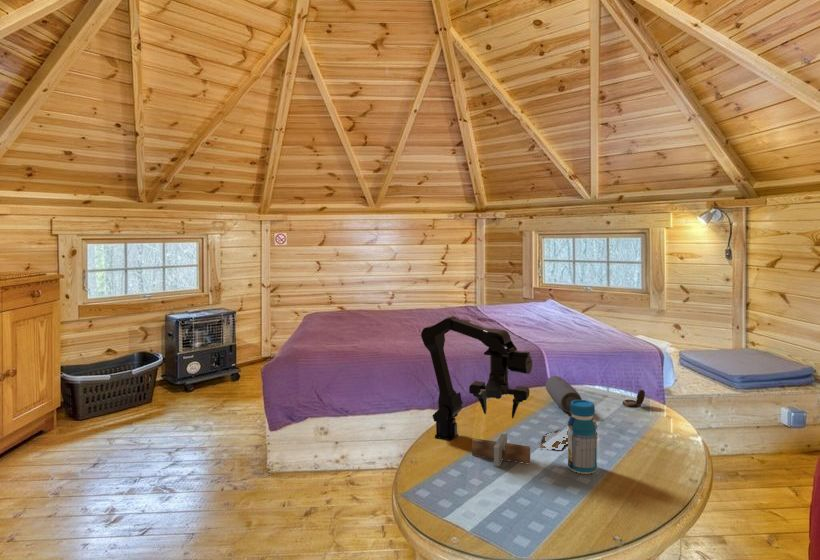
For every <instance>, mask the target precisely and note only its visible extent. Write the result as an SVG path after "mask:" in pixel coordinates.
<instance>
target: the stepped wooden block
mask: <svg viewBox="0 0 820 560" xmlns="http://www.w3.org/2000/svg"><path fill="white" fill-rule="evenodd" d="M471 441H472V442H471V443H472V446H471V447H472V448H471V449H472V453H471V455H472V456H475V457H480V458H488V459H493V458H494V446H495V444H496V442H497V441H495V440H487V439H481V438H472V440H471ZM502 459H503V460H502V461H506V460H510V461H509V462H512V461H517V462H516V463H518V462H523V463H522V464H524V463H530V464H531V446H530V445H522V444H516V443H509V442H507V443H506V444H505V450H503V451H502Z"/></svg>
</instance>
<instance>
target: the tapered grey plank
mask: <svg viewBox="0 0 820 560" xmlns="http://www.w3.org/2000/svg"><path fill="white" fill-rule="evenodd" d="M506 443H508V432H505V431H504V432H501V434H500V436H499V437H498V439H497V441H496V444H495V446H494V459H493V466H494V467H496V466H499V465H500V466H501V464H502V462H503V460H502V451H503V450H505V444H506ZM501 461H502V462H501ZM500 463H501V464H500ZM500 466H499V467H500Z"/></svg>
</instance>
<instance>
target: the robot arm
mask: <svg viewBox="0 0 820 560" xmlns="http://www.w3.org/2000/svg"><path fill="white" fill-rule="evenodd" d="M450 331H453V332H454V333H455V332H456V333H458V334H461V335H464V336H467V337H470V338H473V339H475V340H478V341H480V342H481V343H482V344H483V345H484V346H486V347H488V348H487V350H486V351H484V352H483V355H485V356H489V360H490V361H489V376H488V377H489V378H488V379H487V380H488V381H487V383H486V382H485V381H480V380H479V381H478V380H474V381H473V382H472V383H471V384H470V385H469V389H468V393H469V394H471V395H473V397H476V398H477V400H478V402H479V403H480V406H481V408H482V411H483V414H484V415H487V398H488V399H489V398H492V399H497V400H499V399H501V398H502V397H503V396H504V395H511V396H513V399H512V409H511V410H512V411H511V418H512V419H514V418H515V415H516V413H517V410H518V407H519V404H520V403H523V401H527V400H528V398H529V396H530V388H529V387H528V386H521V385H516V387H515V388H510V387H509V371H511V372H514V373H519V374H524V375H525V374H526V375H530V374H531V372H532V370H533V360H532V359H533V358H532V356H531V353H530V351H519V350H518V348H517V347H516V346H515V344H514V343H513V341H512V339H511V335H510V333H509V332H508V331H507V330H505V329H500V328H499V329H498V328H489V327H483V326H481V325H478V324H474V323H471V322H469V321H466V320H463V319H459V318H457V317H455V316H449V317H448V316H447V317H445V318H444V319H443V320H441V321H439V322H437V323H436V324H433V325H429V326H427V327H424V328H422V330H421V332H420V336H421V341H422V342H423V345H424V347H425V348H426V349H427V351H429V354H430V357H431V362H432V365H433V370H434V374H435V379H436V382H437V387H438V390H439V391H438V392H439V394H438V401H437V406H438V409H437V410H436V412H435V413H433V414H432V419H433V421H434V422H435V428H436V430H435V432H436V433H435V435H434V438H437V439H442V440H449V441H452V440H453V439H454V438H455V437H456V436H457V435H458V422H456V417H458V415H459V413H460V412H461V410H462V409H463V404H464V403H463V400H462V396H461V392H456V391H455V389H454V387H453V384H452V379H451V375H450V371H449V367H448V362H447V358H446V355H445V350H444V347H445V343H446V336H445V335H446V334H447V333H448V332H450Z"/></svg>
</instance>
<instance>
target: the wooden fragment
mask: <svg viewBox="0 0 820 560" xmlns="http://www.w3.org/2000/svg"><path fill="white" fill-rule="evenodd" d="M559 430H560V429H557V430H554V433H557V432H558V431H559ZM552 432H553V431H551V432H547V433H544V434H543V435H547V434H549V433H552ZM543 435H542V438H541V442H540V444H539V445H540V446H539V448H546V447H545V446H543V445H542V444H543V443H545V442H546V441H545V437H546V436H543ZM563 438H565V437H563ZM566 442H568V438H566V440H563V441H562V443H561V442H559V441H556V442H555V443H554V444H553V445H552V447H555V448H558V445H559V444H560V443H561V444H566ZM566 445H567V444H566ZM567 446H568V445H567Z"/></svg>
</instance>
